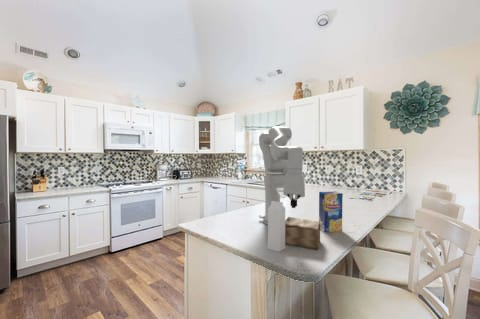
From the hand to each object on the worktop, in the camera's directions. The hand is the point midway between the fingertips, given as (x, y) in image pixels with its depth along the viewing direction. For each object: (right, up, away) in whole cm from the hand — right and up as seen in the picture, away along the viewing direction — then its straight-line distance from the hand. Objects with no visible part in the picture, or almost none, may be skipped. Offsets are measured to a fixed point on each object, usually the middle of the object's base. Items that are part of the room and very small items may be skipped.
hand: (293, 207), depth 116 cm
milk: (-10, -18, -9) cm, 22 cm away
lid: (+3, -8, -2) cm, 9 cm away
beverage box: (+26, -17, +19) cm, 36 cm away
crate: (+4, -17, -2) cm, 18 cm away
